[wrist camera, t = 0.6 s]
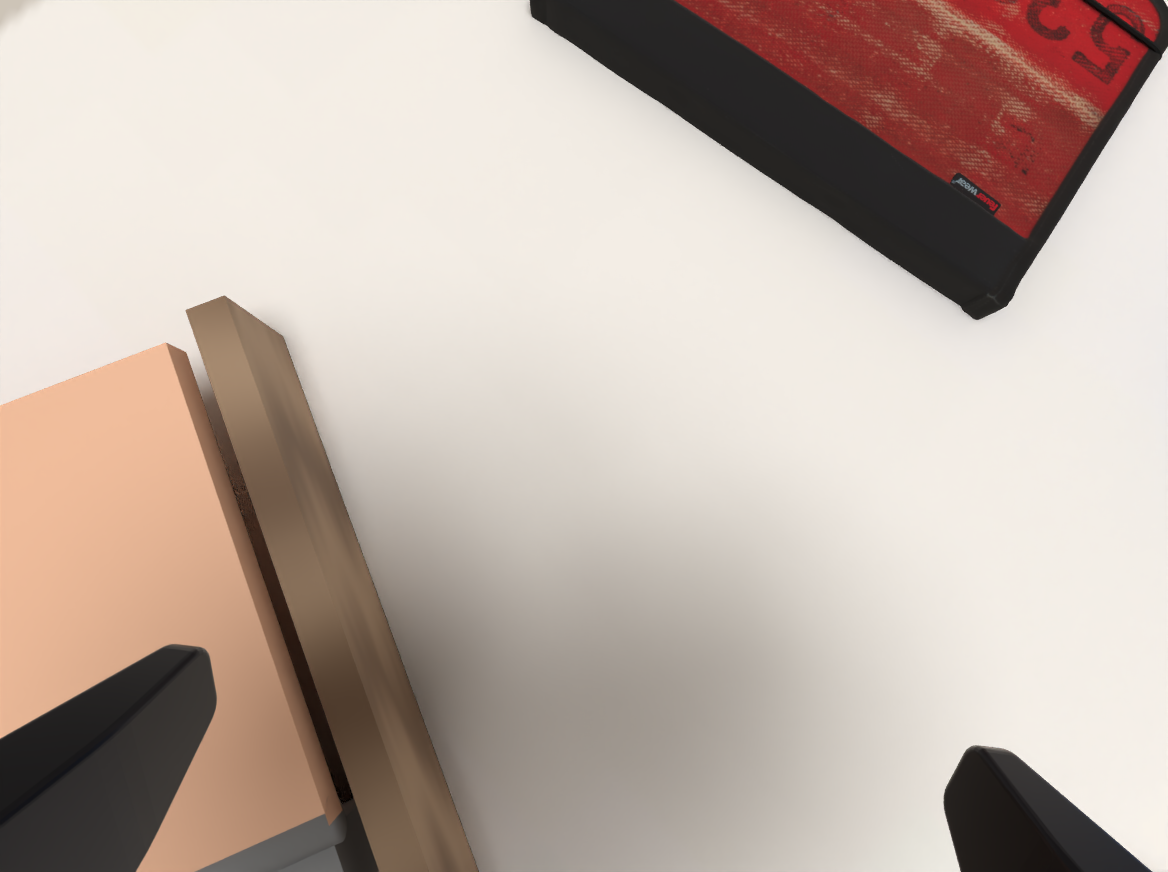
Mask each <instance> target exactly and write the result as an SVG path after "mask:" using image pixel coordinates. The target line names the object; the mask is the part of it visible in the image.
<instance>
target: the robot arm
mask: <svg viewBox="0 0 1168 872" xmlns="http://www.w3.org/2000/svg"><path fill="white" fill-rule="evenodd" d="M216 705H217V693H216V688H215V682H214V677H213V671H212V666H211V660H210V656H209V653H208V652H207V651H206V649H205V648H202V647H197V646H189V645H181V644H169V645H166V646H164V647H162V648H160V649H158V650H156V651H154V652H153V653H151V654H149V655H147V656H145V657H144V658H142V659H140V660H138V661H137V662H135V663H133V664H131V665H129V666H128V667H126V668H124V669H122V670H121V671H119V672H117V673H115V674H114V675H112V676H110V677H108V678H106V679H105V680H103V681H101V682H99V683H98V684H96V685H94V686H92V687H90V688H89V689H87V690H85V691H83V692H82V693H80V694H78V695H76V696H74V697H73V698H71V699H69V700H67V701H66V702H64V703H62V704H60V705H59V706H57V707H55V708H53V709H51V710H50V711H48V712H46V713H44V714H43V715H41V716H39V717H37V718H35V719H34V720H32V721H30V722H28V723H27V724H25V725H23V726H21V727H20V728H18V729H16V730H14V731H12V732H11V733H9V734H7V735H5V736H4V737H2V738H0V872H136V871H137V869H138V867H139V866H140V864H141V862H142V860H143V859H144V857H145V855H146V853H147V852H148V850H149V848H150V846H151V844H152V842H153V840H154V838H155V836H156V834H157V832H158V830H159V828H160V826H161V824H162V822H163V820H164V818H165V816H166V814H167V812H168V810H169V808H170V806H171V803H172V801H173V799H174V797H175V795H176V793H177V791H178V789H179V787H180V785H181V783H182V781H183V779H184V777H185V775H186V772H187V770H188V768H189V766H190V764H191V762H192V760H193V758H194V756H195V754H196V752H197V750H198V748H199V746H200V744H201V741H202V739H203V737H204V735H205V733H206V731H207V729H208V727H209V725H210V723H211V721H212V718H213V716H214V713H215V710H216ZM944 810H945V815H946V819H947V822H948V826H949V830H950V834H951V837H952V841H953V845H954V848H955V852H956V856H957V860H958V863H959V867H960V871H961V872H1152V871H1151V870H1150V869H1148V868H1147V867H1146V866H1145V865H1144V864H1143V863H1141V862H1140V861H1139V860H1138V859H1137V858H1136V857H1134V856H1133V855H1132V854H1131V853H1130V852H1129V851H1127V850H1126V849H1125V848H1124V847H1123V846H1122V845H1120V844H1119V843H1118V842H1117V841H1116V840H1115V839H1113V838H1112V837H1111V836H1110V835H1109V834H1108V833H1106V832H1105V831H1104V830H1103V829H1102V828H1101V827H1099V826H1098V825H1097V824H1096V823H1095V822H1094V821H1092V820H1091V819H1090V818H1089V817H1088V816H1086V815H1085V814H1084V813H1083V812H1082V811H1081V810H1079V809H1078V808H1077V807H1076V806H1075V805H1074V804H1072V803H1071V802H1070V801H1069V800H1068V799H1067V798H1065V797H1064V796H1063V795H1062V794H1061V793H1060V792H1058V791H1057V790H1056V789H1055V788H1054V787H1053V786H1051V785H1050V784H1049V783H1048V782H1047V781H1046V780H1044V779H1043V778H1042V777H1041V776H1040V775H1039V774H1037V773H1036V772H1035V771H1034V770H1033V769H1032V768H1030V767H1029V766H1028V765H1027V764H1026V763H1025V762H1023V761H1022V760H1021V759H1020V758H1019V757H1017V756H1016V755H1015V754H1014V753H1012V752H1010V751H1008V750H1006V749H1002V748H994V747H987V746H979V745H975V746H971V747H970V748H968V749H967V750H966V751H965V753H964V754H963V756H962V758H961V760H960V762H959V764H958V766H957V768H956V769H955V771H954V773H953V775H952V777H951V779H950V781H949V783H948V784H947V786H946V789H945V793H944Z"/></svg>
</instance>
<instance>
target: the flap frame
mask: <svg viewBox="0 0 1168 872" xmlns="http://www.w3.org/2000/svg"><path fill="white" fill-rule="evenodd" d="M186 313H187V316H188V319H189V322H190V324H191V327H192V330H193V333H194V336H195V339H196V342H197V345H198V348H199V351H200V353H201V356H202V359H203V362H204V365H205V368H206V371H207V374H208V377H209V380H210V382H211V385H212V388H213V391H214V394H215V397H216V400H217V403H218V406H219V409H220V411H221V414H222V417H223V420H224V423H225V426H226V429H227V432H228V435H229V438H230V440H231V443H232V446H233V449H234V452H235V455H236V458H237V461H238V464H239V466H240V469H241V472H242V475H243V478H244V481H245V484H246V487H247V490H248V493H249V495H250V498H251V501H252V504H253V507H254V510H255V513H256V516H257V519H258V522H259V524H260V527H261V530H262V533H263V536H264V539H265V542H266V545H267V548H268V551H269V553H270V556H271V559H272V562H273V565H274V568H275V571H276V574H277V577H278V580H279V582H280V585H281V588H282V591H283V594H284V597H285V600H286V603H287V606H288V609H289V611H290V614H291V617H292V620H293V623H294V626H295V629H296V632H297V635H298V637H299V640H300V643H301V646H302V649H303V652H304V655H305V658H306V661H307V664H308V666H309V669H310V672H311V675H312V678H313V681H314V684H315V687H316V690H317V693H318V695H319V698H320V701H321V704H322V707H323V710H324V713H325V716H326V719H327V722H328V724H329V727H330V730H331V733H332V736H333V739H334V742H335V745H336V748H337V751H338V753H339V756H340V759H341V762H342V765H343V768H344V771H345V774H346V777H347V780H348V782H349V785H350V788H351V791H352V794H353V797H354V800H355V803H356V806H357V808H358V811H359V814H360V817H361V820H362V823H363V826H364V829H365V832H366V835H367V837H368V840H369V843H370V846H371V849H372V852H373V855H374V858H375V861H376V864H377V866H378V869H379V872H479V871H478V869H477V866H476V863H475V860H474V858H473V855H472V852H471V849H470V847H469V844H468V841H467V838H466V836H465V833H464V830H463V827H462V825H461V822H460V819H459V817H458V814H457V811H456V808H455V806H454V803H453V800H452V797H451V795H450V792H449V789H448V786H447V784H446V781H445V778H444V776H443V773H442V770H441V767H440V765H439V762H438V759H437V756H436V754H435V751H434V748H433V745H432V743H431V740H430V737H429V735H428V732H427V729H426V726H425V724H424V721H423V718H422V715H421V713H420V710H419V707H418V704H417V702H416V699H415V696H414V693H413V691H412V688H411V685H410V683H409V680H408V677H407V674H406V672H405V669H404V666H403V663H402V661H401V658H400V655H399V652H398V650H397V647H396V644H395V642H394V639H393V636H392V633H391V631H390V628H389V625H388V622H387V620H386V617H385V614H384V611H383V609H382V606H381V603H380V601H379V598H378V595H377V592H376V590H375V587H374V584H373V581H372V579H371V576H370V573H369V570H368V568H367V565H366V562H365V559H364V557H363V554H362V551H361V549H360V546H359V543H358V540H357V538H356V535H355V532H354V529H353V527H352V524H351V521H350V518H349V516H348V513H347V510H346V508H345V505H344V502H343V499H342V497H341V494H340V491H339V488H338V486H337V483H336V480H335V477H334V475H333V472H332V469H331V466H330V464H329V461H328V458H327V456H326V453H325V450H324V447H323V445H322V442H321V439H320V436H319V434H318V431H317V428H316V425H315V423H314V420H313V417H312V415H311V412H310V409H309V406H308V404H307V401H306V398H305V395H304V393H303V390H302V387H301V384H300V382H299V379H298V376H297V374H296V371H295V368H294V365H293V363H292V360H291V357H290V354H289V352H288V349H287V346H286V343H285V341H284V338H283V336H282V335H280V334H279V333H277V332H276V331H274V330H273V329H272V328H270V327H269V326H267V325H266V324H264V323H263V322H262V321H260V320H259V319H257V318H256V317H254V316H253V315H252V314H250V313H249V312H247V311H246V310H244V309H243V308H242V307H240V306H239V305H237V304H236V303H234V302H233V301H232V300H230V299H229V298H227V297H226V296H222V297H219V298H217V299H214V300H211V301H209V302H206V303H203V304H201V305H198V306H195V307H193V308H190V309H187V310H186Z"/></svg>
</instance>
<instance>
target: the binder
mask: <svg viewBox="0 0 1168 872" xmlns="http://www.w3.org/2000/svg"><path fill="white" fill-rule="evenodd" d="M530 6H531V14H532V17H533V18H535V19H536V20H538V21H540V22H541V23H543V24H545V25H547V26H548V27H549V28H550V29H551V30H553V31H554V32H555V33H557V34H558V35H560V36H562V37H563V38H565V39H566V40H568V41H570V42H571V43H573V44H574V45H575V46H577V47H578V48H580V49H581V50H583V51H584V52H586V53H587V54H588V55H590V56H591V57H593V58H594V59H595V60H597V61H598V62H600V63H601V64H602V65H604V66H605V67H607V68H608V69H610V70H611V71H613V72H614V73H615V74H617V75H618V76H620V77H622V78H623V79H625V80H626V81H628V82H629V83H631V84H632V85H634V86H635V87H637V88H638V89H640V90H641V91H643V92H644V93H646V94H647V95H649V96H650V97H652V98H654V99H655V100H657V101H659V102H660V103H662V104H663V105H665V106H666V107H668V108H669V109H670V110H672V111H673V112H675V113H676V114H678V115H679V116H680V117H682V118H683V119H685V120H686V121H687V122H689V123H690V124H692V125H693V126H695V127H696V128H697V129H699V130H700V131H702V132H703V133H705V134H706V135H708V136H709V137H710V138H712V139H713V140H715V141H716V142H718V143H719V144H721V145H722V146H724V147H725V148H726V149H728V150H729V151H731V152H732V153H734V154H735V155H737V156H738V157H740V158H741V159H743V160H744V161H746V162H747V163H749V164H750V165H752V166H753V167H755V168H756V169H758V170H759V171H760V172H762V173H763V174H765V175H767V176H768V177H770V178H771V179H773V180H774V181H776V182H777V183H779V184H780V185H782V186H783V187H785V188H786V189H788V190H789V191H791V192H792V193H794V194H795V195H796V196H798V197H799V198H801V199H802V200H804V201H806V202H807V203H809V204H811V205H812V206H814V207H815V208H817V209H819V210H820V211H822V212H823V213H825V214H826V215H828V216H829V217H831V218H832V219H834V220H835V221H836V222H838V223H839V224H840V225H842V226H843V227H844V228H846V229H847V230H848V231H850V232H851V233H853V234H854V235H856V236H857V237H858V238H860V239H861V240H862V241H864V242H865V243H867V244H868V245H870V246H871V247H873V248H874V249H875V250H877V251H878V252H880V253H881V254H883V255H884V256H886V257H887V258H889V259H890V260H892V261H893V262H895V263H896V264H898V265H899V266H901V267H902V268H904V269H905V270H907V271H908V272H910V273H911V274H913V275H914V276H916V277H917V278H919V279H920V280H922V281H923V282H925V283H926V284H928V285H929V286H931V287H932V288H934V289H935V290H937V291H938V292H940V293H941V294H943V295H944V296H946V297H947V298H949V299H950V300H952V301H954V302H955V303H957V304H958V305H960V306H961V307H962V309H963V311H964V312H966V313H967V314H969V315H970V316H971V317H972V318H973V319H976V320H978V319H981V318H983V317H985V316H988V315H990V314H992V313H995V312H996V311H998V310H1000V309H1002V308H1004V307H1006V306H1007V305H1008V303H1009V302H1010V301H1011V299H1012V298H1013V296H1014V293H1015V291H1016V289H1017V287H1018V285H1019V283H1020V281H1021V280H1022V278H1023V276H1024V275H1025V273H1026V272H1027V270H1028V269H1029V267H1030V266H1031V264H1032V263H1033V261H1034V259H1035V258H1036V256H1037V254H1038V253H1039V251H1040V250H1041V248H1042V247H1043V245H1044V244H1045V243H1046V241H1047V239H1048V238H1049V236H1050V235H1051V233H1052V231H1053V230H1054V228H1055V226H1056V225H1057V223H1058V222H1059V220H1060V219H1061V217H1062V215H1063V214H1064V212H1065V210H1066V209H1067V207H1068V206H1069V204H1070V202H1071V201H1072V199H1073V197H1074V196H1075V194H1076V192H1077V191H1078V189H1079V188H1080V186H1081V184H1082V183H1083V181H1084V180H1085V178H1086V176H1087V175H1088V173H1089V171H1090V170H1091V168H1092V166H1093V165H1094V163H1095V162H1096V160H1097V158H1098V157H1099V155H1100V153H1101V152H1102V150H1103V149H1104V147H1105V145H1106V144H1107V142H1108V141H1109V139H1110V138H1111V136H1112V135H1113V133H1114V131H1115V130H1116V128H1117V126H1118V125H1119V123H1120V121H1121V120H1122V118H1123V117H1124V115H1125V114H1126V112H1127V111H1128V109H1129V108H1130V106H1131V104H1132V102H1133V101H1134V99H1135V97H1136V96H1137V94H1138V92H1139V91H1140V89H1141V88H1142V86H1143V85H1144V83H1145V81H1146V80H1147V78H1148V77H1149V75H1150V74H1151V72H1152V70H1153V69H1154V67H1155V66H1156V64H1157V63H1158V61H1159V60H1160V59H1161V58H1162V54H1163V53H1164V51H1165V50H1166V48H1167V47H1168V7H1167V5H1166V3H1165V2H1164V0H530Z"/></svg>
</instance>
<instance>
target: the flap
mask: <svg viewBox="0 0 1168 872" xmlns="http://www.w3.org/2000/svg"><path fill="white" fill-rule="evenodd" d="M169 644H181V645H189V646H197V647H202V648H205V649H206V651H207V652H208V653H209V656H210V660H211V666H212V671H213V677H214V682H215V688H216V693H217V705H216V710H215V713H214V716H213V718H212V721H211V723H210V725H209V727H208V729H207V731H206V733H205V735H204V737H203V739H202V741H201V744H200V746H199V748H198V750H197V752H196V754H195V756H194V758H193V760H192V762H191V764H190V766H189V768H188V770H187V772H186V775H185V777H184V779H183V781H182V783H181V785H180V787H179V789H178V791H177V793H176V795H175V797H174V799H173V801H172V803H171V806H170V808H169V810H168V812H167V814H166V816H165V818H164V820H163V822H162V824H161V826H160V828H159V830H158V832H157V834H156V836H155V838H154V840H153V842H152V844H151V846H150V848H149V850H148V852H147V853H146V855H145V857H144V859H143V860H142V862H141V864H140V866H139V867H138V869H137V871H136V872H379V869H378V866H377V864H376V861H375V858H374V855H373V852H372V849H371V846H370V843H369V840H368V837H367V835H366V832H365V829H364V826H363V823H362V820H361V817H360V814H359V811H358V808H357V806H356V803H355V800H354V799H352V800H350V801H348V802H345V803H343V804H342V803H341V801H340V800H339V798H338V795H337V792H336V789H335V787H334V784H333V781H332V778H331V775H330V772H329V769H328V766H327V763H326V760H325V757H324V754H323V751H322V748H321V746H320V743H319V740H318V737H317V734H316V731H315V728H314V725H313V722H312V719H311V716H310V713H309V710H308V708H307V705H306V702H305V699H304V696H303V693H302V690H301V687H300V684H299V681H298V678H297V675H296V672H295V669H294V667H293V664H292V661H291V658H290V655H289V652H288V649H287V646H286V643H285V640H284V637H283V634H282V631H281V629H280V626H279V623H278V620H277V617H276V614H275V611H274V608H273V605H272V602H271V599H270V596H269V593H268V590H267V588H266V585H265V582H264V579H263V576H262V573H261V570H260V567H259V564H258V561H257V558H256V555H255V552H254V550H253V547H252V544H251V541H250V538H249V535H248V532H247V529H246V526H245V523H244V520H243V517H242V514H241V511H240V509H239V506H238V503H237V500H236V497H235V494H234V491H233V488H232V485H231V482H230V479H229V476H228V473H227V471H226V468H225V465H224V462H223V459H222V456H221V453H220V450H219V447H218V444H217V441H216V438H215V435H214V432H213V430H212V427H211V424H210V421H209V418H208V415H207V412H206V409H205V406H204V403H203V400H202V397H201V394H200V392H199V389H198V386H197V383H196V380H195V377H194V374H193V371H192V368H191V365H190V362H189V359H188V356H187V354H186V352H184V351H182V350H180V349H178V348H176V347H174V346H172V345H170V344H168V343H163V344H161V345H158V346H156V347H153V348H150V349H148V350H145V351H142V352H140V353H137V354H135V355H132V356H129V357H127V358H124V359H121V360H119V361H116V362H114V363H111V364H108V365H106V366H103V367H100V368H98V369H95V370H93V371H90V372H87V373H85V374H82V375H79V376H77V377H74V378H72V379H69V380H66V381H64V382H61V383H58V384H56V385H53V386H51V387H48V388H45V389H43V390H40V391H37V392H35V393H32V394H30V395H27V396H24V397H22V398H19V399H16V400H14V401H11V402H9V403H6V404H3V405H1V406H0V738H2V737H4V736H5V735H7V734H9V733H11V732H12V731H14V730H16V729H18V728H20V727H21V726H23V725H25V724H27V723H28V722H30V721H32V720H34V719H35V718H37V717H39V716H41V715H43V714H44V713H46V712H48V711H50V710H51V709H53V708H55V707H57V706H59V705H60V704H62V703H64V702H66V701H67V700H69V699H71V698H73V697H74V696H76V695H78V694H80V693H82V692H83V691H85V690H87V689H89V688H90V687H92V686H94V685H96V684H98V683H99V682H101V681H103V680H105V679H106V678H108V677H110V676H112V675H114V674H115V673H117V672H119V671H121V670H122V669H124V668H126V667H128V666H129V665H131V664H133V663H135V662H137V661H138V660H140V659H142V658H144V657H145V656H147V655H149V654H151V653H153V652H154V651H156V650H158V649H160V648H162V647H164V646H166V645H169Z"/></svg>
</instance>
